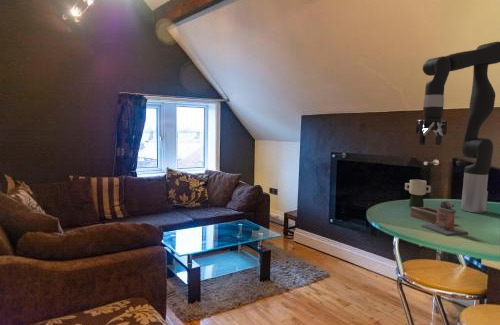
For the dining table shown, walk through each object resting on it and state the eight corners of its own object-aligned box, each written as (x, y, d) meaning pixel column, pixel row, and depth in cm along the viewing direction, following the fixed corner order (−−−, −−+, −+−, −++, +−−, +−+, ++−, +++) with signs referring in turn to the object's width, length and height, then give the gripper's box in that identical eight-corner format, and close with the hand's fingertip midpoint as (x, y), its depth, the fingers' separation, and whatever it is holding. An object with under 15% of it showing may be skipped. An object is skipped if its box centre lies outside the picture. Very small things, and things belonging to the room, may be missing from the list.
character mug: (430, 208, 162) (432, 180, 160) (428, 211, 156) (430, 182, 154) (404, 204, 168) (407, 178, 166) (402, 207, 162) (404, 180, 160)
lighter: (432, 225, 131) (435, 199, 130) (441, 225, 131) (443, 199, 130) (447, 231, 123) (450, 203, 122) (456, 231, 123) (458, 203, 122)
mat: (442, 224, 134) (442, 223, 134) (467, 233, 124) (468, 231, 124) (421, 226, 131) (421, 225, 131) (446, 235, 120) (446, 233, 120)
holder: (425, 214, 149) (426, 205, 149) (451, 223, 137) (452, 213, 136) (410, 215, 146) (411, 206, 146) (435, 224, 134) (436, 214, 134)
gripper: (439, 107, 152) (435, 144, 153) (413, 105, 147) (410, 144, 149) (453, 106, 145) (450, 145, 146) (427, 105, 140) (423, 145, 142)
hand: (430, 144), depth 148 cm, fingers open, 8 cm apart
